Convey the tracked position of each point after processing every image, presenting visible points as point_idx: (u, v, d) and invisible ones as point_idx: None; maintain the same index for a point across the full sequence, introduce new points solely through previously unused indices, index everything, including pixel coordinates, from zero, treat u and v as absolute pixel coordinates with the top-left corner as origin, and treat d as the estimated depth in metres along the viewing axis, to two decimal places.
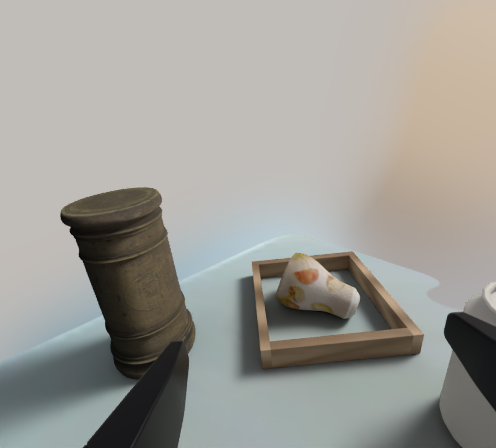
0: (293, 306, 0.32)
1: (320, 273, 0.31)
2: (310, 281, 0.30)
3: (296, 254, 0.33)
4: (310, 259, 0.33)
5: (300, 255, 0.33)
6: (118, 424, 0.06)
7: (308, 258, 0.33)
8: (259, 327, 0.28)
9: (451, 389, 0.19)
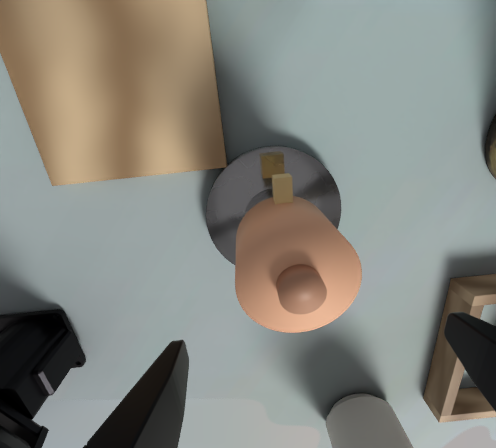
0: None
1: None
2: None
3: None
4: None
5: None
6: (118, 424, 0.06)
7: None
8: None
9: (387, 430, 0.24)
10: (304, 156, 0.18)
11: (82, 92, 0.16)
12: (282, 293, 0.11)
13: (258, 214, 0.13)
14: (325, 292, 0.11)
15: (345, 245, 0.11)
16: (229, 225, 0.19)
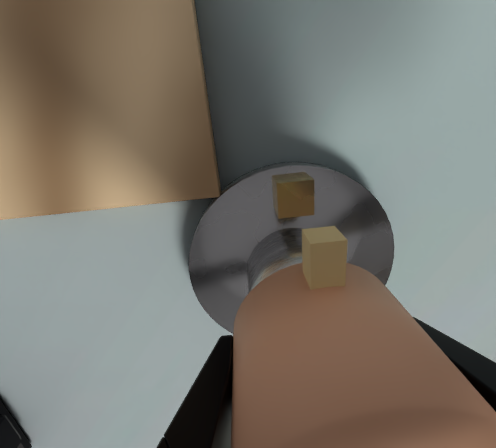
0: None
1: None
2: None
3: None
4: None
5: None
6: (191, 417, 0.06)
7: None
8: None
9: None
10: (342, 180, 0.11)
11: None
12: None
13: (277, 311, 0.07)
14: None
15: None
16: (224, 280, 0.13)
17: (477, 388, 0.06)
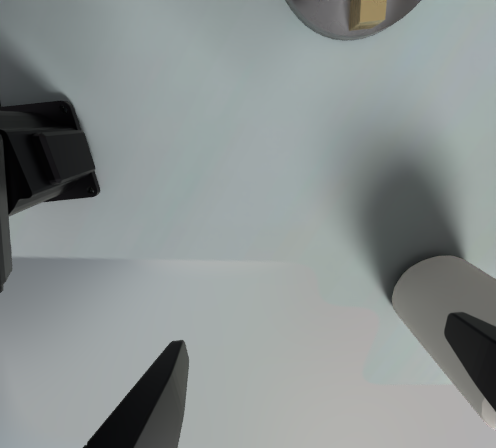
0: None
1: None
2: None
3: None
4: None
5: None
6: (118, 424, 0.06)
7: None
8: None
9: (486, 277, 0.19)
10: None
11: None
12: None
13: None
14: None
15: None
16: None
17: None
